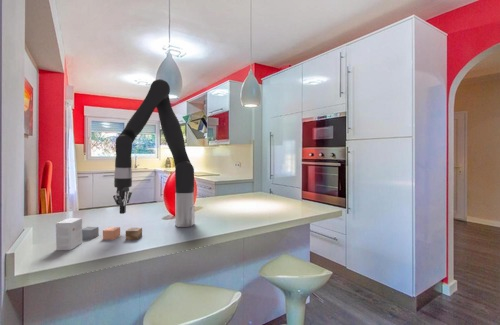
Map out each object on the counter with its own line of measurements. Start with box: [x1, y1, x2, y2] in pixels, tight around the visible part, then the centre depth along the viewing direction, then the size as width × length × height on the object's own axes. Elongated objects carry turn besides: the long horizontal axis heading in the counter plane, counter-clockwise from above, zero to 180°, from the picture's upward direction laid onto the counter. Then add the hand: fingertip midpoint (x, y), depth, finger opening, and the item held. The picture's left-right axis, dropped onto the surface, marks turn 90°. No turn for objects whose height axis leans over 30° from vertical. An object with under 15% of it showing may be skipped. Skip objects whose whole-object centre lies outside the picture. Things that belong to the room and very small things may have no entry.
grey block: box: [82, 226, 100, 240], centre depth 115 cm, size 5×5×4 cm
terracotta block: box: [102, 226, 121, 240], centre depth 115 cm, size 5×5×4 cm
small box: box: [55, 217, 83, 251], centre depth 103 cm, size 8×6×10 cm
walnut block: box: [125, 227, 143, 241], centre depth 114 cm, size 5×5×4 cm
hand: (122, 213), depth 124 cm, fingers closed
